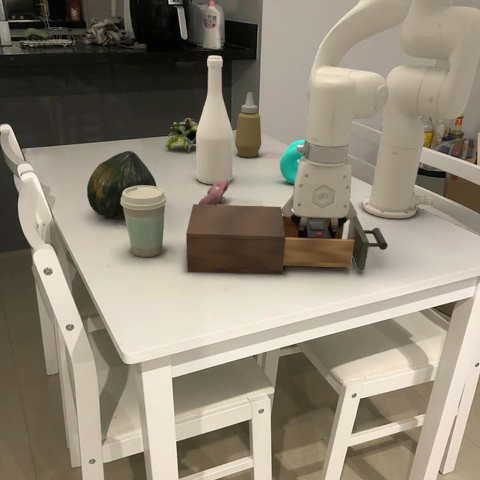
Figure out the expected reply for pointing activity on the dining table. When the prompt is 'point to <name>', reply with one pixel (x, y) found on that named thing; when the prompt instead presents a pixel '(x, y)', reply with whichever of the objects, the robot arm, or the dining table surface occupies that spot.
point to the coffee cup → (144, 218)
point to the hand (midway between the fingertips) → (315, 246)
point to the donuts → (291, 161)
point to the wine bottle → (214, 131)
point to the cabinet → (235, 239)
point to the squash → (116, 182)
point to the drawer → (330, 246)
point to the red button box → (317, 229)
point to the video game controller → (215, 193)
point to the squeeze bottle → (248, 129)
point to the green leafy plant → (183, 133)
